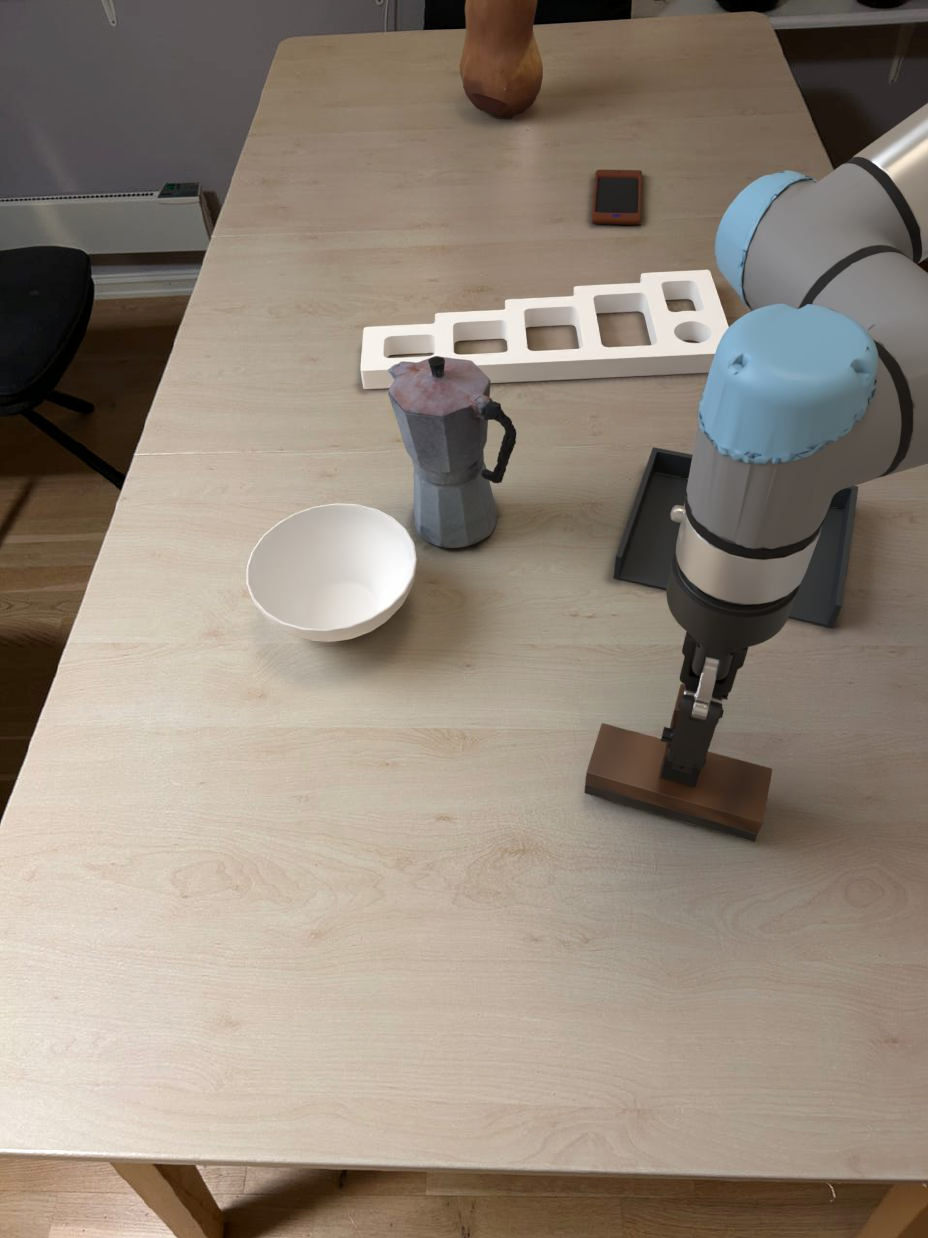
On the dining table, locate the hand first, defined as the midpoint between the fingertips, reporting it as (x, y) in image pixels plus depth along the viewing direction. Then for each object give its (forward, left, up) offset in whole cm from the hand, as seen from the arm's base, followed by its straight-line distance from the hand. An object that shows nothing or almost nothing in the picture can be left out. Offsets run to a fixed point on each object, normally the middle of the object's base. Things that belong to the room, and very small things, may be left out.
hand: (682, 761), depth 74 cm
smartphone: (+28, -95, -6) cm, 99 cm away
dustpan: (0, -35, -6) cm, 36 cm away
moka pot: (+28, -25, -6) cm, 38 cm away
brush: (0, 0, -5) cm, 5 cm away
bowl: (+35, -10, -6) cm, 37 cm away
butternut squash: (+54, -119, -6) cm, 131 cm away
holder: (+29, -59, -6) cm, 66 cm away
